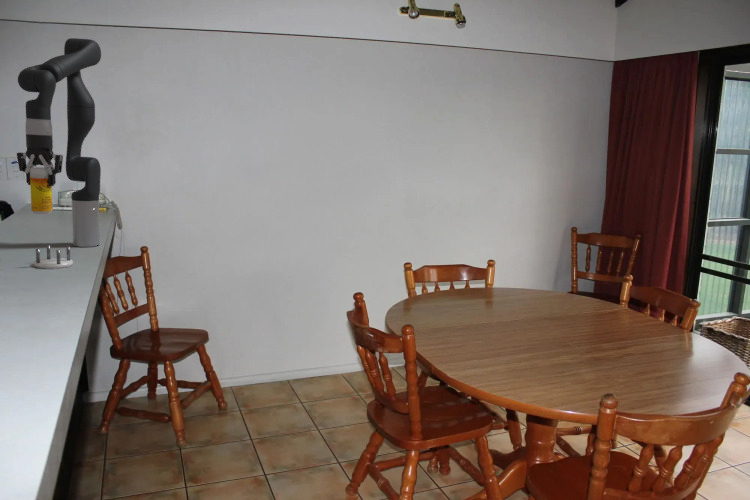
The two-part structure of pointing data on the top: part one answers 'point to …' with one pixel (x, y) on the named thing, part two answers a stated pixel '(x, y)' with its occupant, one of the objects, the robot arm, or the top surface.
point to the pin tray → (53, 260)
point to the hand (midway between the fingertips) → (41, 185)
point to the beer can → (40, 191)
